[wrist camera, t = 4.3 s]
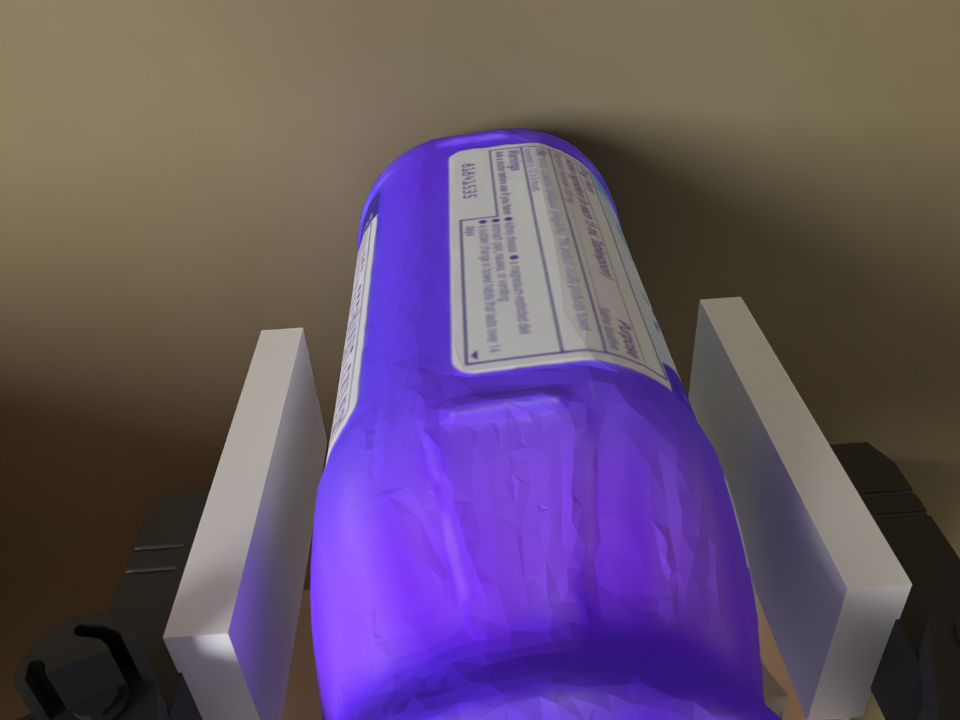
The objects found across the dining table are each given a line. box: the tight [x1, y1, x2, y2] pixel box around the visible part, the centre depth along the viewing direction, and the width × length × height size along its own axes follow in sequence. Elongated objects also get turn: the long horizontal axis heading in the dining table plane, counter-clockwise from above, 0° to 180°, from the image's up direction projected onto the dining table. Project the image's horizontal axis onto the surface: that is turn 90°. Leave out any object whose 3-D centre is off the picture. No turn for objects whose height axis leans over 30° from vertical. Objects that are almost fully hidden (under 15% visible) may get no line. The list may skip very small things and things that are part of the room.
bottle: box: [310, 128, 782, 720], centre depth 12 cm, size 7×6×17 cm
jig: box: [281, 532, 850, 720], centre depth 26 cm, size 18×16×4 cm
